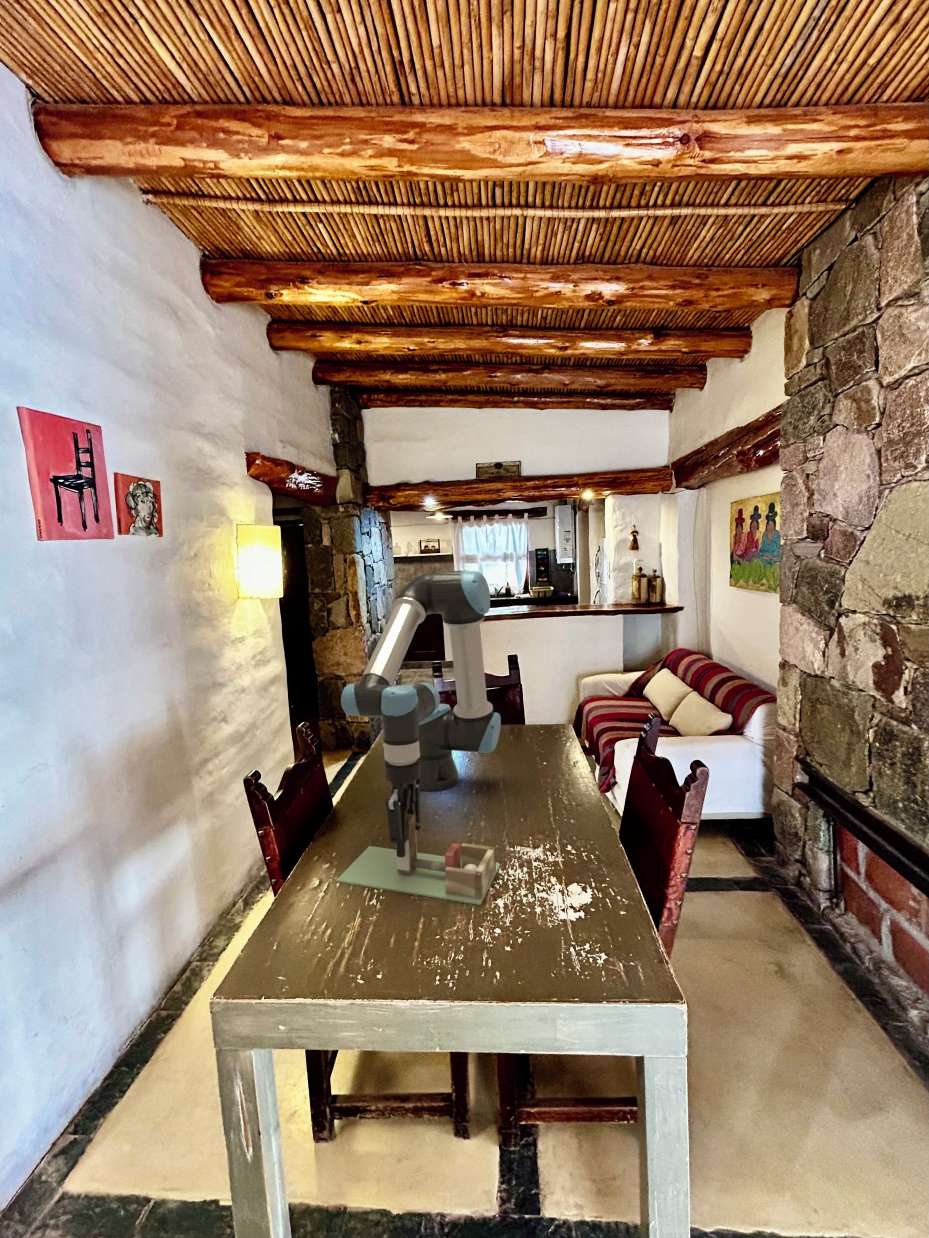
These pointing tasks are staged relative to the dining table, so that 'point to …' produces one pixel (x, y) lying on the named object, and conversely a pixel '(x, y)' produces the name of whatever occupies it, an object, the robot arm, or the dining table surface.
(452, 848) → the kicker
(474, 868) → the ball
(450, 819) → the dining table surface
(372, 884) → the mat
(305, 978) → the dining table surface
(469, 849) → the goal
